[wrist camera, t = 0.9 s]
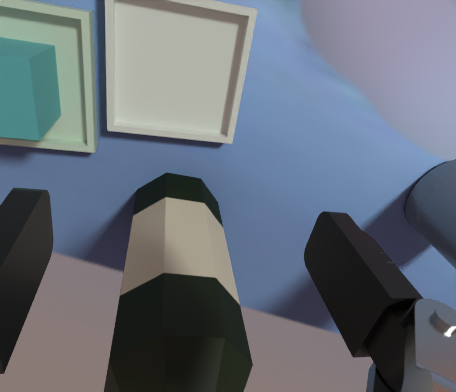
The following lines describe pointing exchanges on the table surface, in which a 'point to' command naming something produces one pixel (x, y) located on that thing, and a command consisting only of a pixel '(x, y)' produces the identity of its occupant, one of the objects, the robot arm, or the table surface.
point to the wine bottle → (178, 297)
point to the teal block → (28, 89)
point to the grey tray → (176, 67)
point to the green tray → (60, 68)
